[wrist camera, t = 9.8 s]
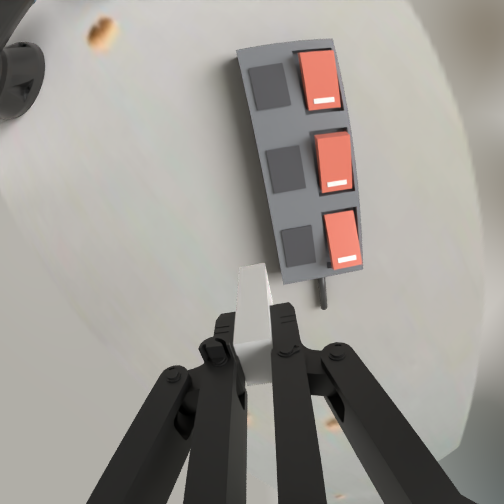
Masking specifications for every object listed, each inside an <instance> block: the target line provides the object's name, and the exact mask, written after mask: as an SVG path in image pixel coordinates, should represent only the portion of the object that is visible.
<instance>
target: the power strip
mask: <svg viewBox="0 0 504 504" xmlns="http://www.w3.org/2000/svg"><path fill="white" fill-rule="evenodd" d="M324 50H334V56H335V63H336V70H337V78H338V86H339V95H340V104H341V107H337V108H327V109H318V110H310V111H309V110H308V109H307V108H306V102H305V95H304V89H303V82H302V76H301V70H300V65H299V59H298V53H300V52H311V51H324ZM236 52H237V57H238V61H239V65H240V70H241V74H242V79H243V83H244V88H245V92H246V97H247V101H248V106H249V110H250V115H251V120H252V124H253V129H254V134H255V139H256V144H257V148H258V153H259V158H260V163H261V168H262V173H263V178H264V183H265V188H266V193H267V198H268V203H269V209H270V214H271V219H272V224H273V230H274V235H275V240H276V246H277V251H278V257H279V262H280V268H281V274H282V279H283V285H284V284H290V283H295V282H301V281H306V280H312V279H317V278H318V284H319V294H320V305H321V309H322V310H326V309H327V296H326V284H325V277H327V276H332V275H338V274H343V273H348V272H353V271H357V270H362V269H363V252H362V231H361V215H360V202H359V191H358V181H357V171H356V163H355V155H354V147H353V140H352V133H351V126H350V120H349V114H348V108H347V103H346V97H345V92H344V87H343V82H342V77H341V72H340V68H339V63H338V59H337V55H336V50H335V46H334V42H333V39H315V40H302V41H292V42H284V43H276V44H269V45H262V46H256V47H250V48H245V49H239V50H236ZM344 131H346V132H347V133H348V134H349V135H350V144H351V165H352V188H351V189H345V190H338V191H332V192H326V193H322V191H321V189H320V186H319V175H318V165H317V155H316V146H315V137H314V135H320V134H327V133H335V132H344ZM351 210H353V212H354V218H355V223H356V228H357V234H358V240H359V246H360V252H361V259H362V264H361V265H356V266H351V267H346V268H341V269H336V270H333V269H332V266H331V260H330V254H329V248H328V242H327V236H326V231H325V225H324V220H323V215H327V214H333V213H339V212H345V211H351Z"/></svg>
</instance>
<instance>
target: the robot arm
mask: <svg viewBox="0 0 504 504" xmlns="http://www.w3.org/2000/svg"><path fill="white" fill-rule="evenodd" d="M35 2H36V0H0V119H11V118H16V117H19V116H21V115H22V114H23V113H25V112H26V111H27V110H28V109H29V108H30V106H31V105H32V104H33V102H34V101H35V99H36V97H37V95H38V93H39V91H40V88H41V85H42V82H43V78H44V71H45V61H44V56H43V53H42V51H41V49H40V48H39V47H38V46H37V45H36V44H33V43H29V42H18V43H15V44H11V45H8V46H5V45H6V43H7V42H8V40H9V38H10V37H11V35H12V33H13V32H14V30H15V29H16V27H17V26H18V24H19V23H20V21H21V20H22V18H23V17H24V15H25V14H26V12H27V11H28V10H29V8H30V7H31V5H32V4H34V3H35ZM198 349H199V351H200V353H201V356H202V358H203V360H204V364H203V365H201V366H199V367H197V368H194V369H191V370H188V371H187V369H186V368H185V367H183V366H180V365H177V366H171V367H169V368H167V369H165V370H164V371H163V372H162V373H161V375H160V376H159V378H158V380H157V382H156V383H155V385H154V387H153V388H152V390H151V392H150V393H149V395H148V397H147V398H146V400H145V402H144V404H143V405H142V407H141V409H140V410H139V412H138V414H137V416H136V417H135V419H134V421H133V422H132V424H131V426H130V428H129V429H128V431H127V433H126V434H125V436H124V438H123V440H122V441H121V443H120V445H119V447H118V448H117V450H116V452H115V454H114V455H113V457H112V459H111V460H110V462H109V464H108V466H107V468H106V469H105V471H104V473H103V475H102V476H101V478H100V480H99V482H98V484H97V485H96V487H95V489H94V490H93V492H92V494H91V496H90V498H89V500H88V501H87V503H86V504H166V503H167V501H168V499H169V496H170V494H171V492H172V490H173V487H174V485H175V483H176V480H177V478H178V476H179V474H180V472H181V469H182V467H183V465H184V462H185V460H186V458H187V456H188V453H189V451H190V457H189V464H188V471H187V478H186V486H185V493H184V501H183V504H246V468H247V391H246V388H245V380H246V383H247V386H249V385H257V384H265V383H272V386H273V403H274V422H275V441H276V461H277V483H278V504H327V501H326V493H325V486H324V479H323V471H322V464H321V458H320V451H319V444H318V438H317V431H316V425H315V419H314V412H313V406H312V400H311V395H318V396H324V398H325V400H326V402H327V403H328V405H329V407H330V409H331V411H332V412H333V414H334V416H335V418H336V419H337V421H338V423H339V425H340V427H341V428H342V430H343V432H344V434H345V435H346V437H347V439H348V441H349V442H350V444H351V446H352V448H353V450H354V451H355V453H356V455H357V457H358V458H359V460H360V462H361V464H362V465H363V467H364V469H365V471H366V472H367V474H368V476H369V478H370V479H371V481H372V483H373V485H374V486H375V488H376V490H377V492H378V493H379V495H380V497H381V499H382V500H383V502H384V504H477V503H475V502H473V501H471V500H470V499H468V498H466V497H464V496H463V495H461V494H460V493H459V492H458V490H457V489H456V487H455V486H454V484H453V483H452V482H451V480H450V479H449V477H448V476H447V475H446V473H445V472H444V471H443V469H442V468H441V466H440V465H439V464H438V462H437V461H436V459H435V458H434V457H433V455H432V454H431V452H430V451H429V450H428V448H427V447H426V446H425V444H424V443H423V441H422V440H421V439H420V437H419V436H418V435H417V433H416V432H415V431H414V429H413V428H412V427H411V425H410V424H409V423H408V421H407V420H406V419H405V417H404V416H403V414H402V413H401V412H400V410H399V409H398V408H397V406H396V405H395V404H394V402H393V401H392V400H391V399H390V397H389V396H388V395H387V393H386V392H385V391H384V389H383V388H382V387H381V385H380V384H379V383H378V381H377V380H376V379H375V377H374V376H373V375H372V373H371V372H370V371H369V370H368V368H367V367H366V366H365V364H364V363H363V362H362V360H361V359H360V358H359V357H358V355H357V354H356V353H355V351H354V350H353V349H352V348H351V347H350V346H349V345H348V344H345V343H339V342H336V343H332V344H329V345H327V346H326V347H324V349H323V350H322V351H319V350H311V349H308V348H306V347H305V346H304V345H303V344H302V343H301V340H300V335H299V330H298V325H297V320H296V314H295V309H294V307H293V306H292V305H291V304H290V303H289V302H287V303H282V304H276V305H273V301H272V296H271V291H270V286H269V281H268V276H267V271H266V266H265V263H260V264H254V265H248V266H243V267H239V278H238V290H237V302H236V312H231V313H224V314H221V315H220V316H219V317H218V319H217V320H216V324H215V330H214V336H213V337H210V338H208V339H206V340H204V341H203V342H202V343H201V344H200V346H199V348H198ZM190 449H191V450H190Z"/></svg>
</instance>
